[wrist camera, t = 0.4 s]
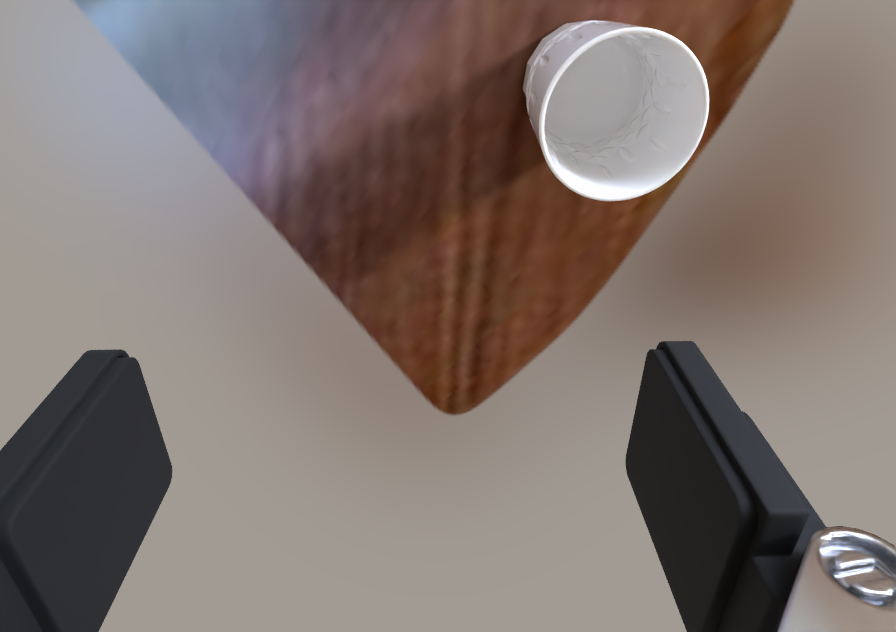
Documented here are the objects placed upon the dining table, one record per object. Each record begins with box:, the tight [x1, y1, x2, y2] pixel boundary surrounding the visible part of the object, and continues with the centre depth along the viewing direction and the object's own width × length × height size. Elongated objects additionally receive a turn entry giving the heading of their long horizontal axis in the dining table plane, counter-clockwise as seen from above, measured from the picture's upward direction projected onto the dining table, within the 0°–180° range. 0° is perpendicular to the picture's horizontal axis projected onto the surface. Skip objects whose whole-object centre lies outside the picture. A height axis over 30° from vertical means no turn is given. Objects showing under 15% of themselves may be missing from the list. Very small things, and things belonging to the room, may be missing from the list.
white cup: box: [523, 20, 709, 201], centre depth 32 cm, size 8×8×10 cm
